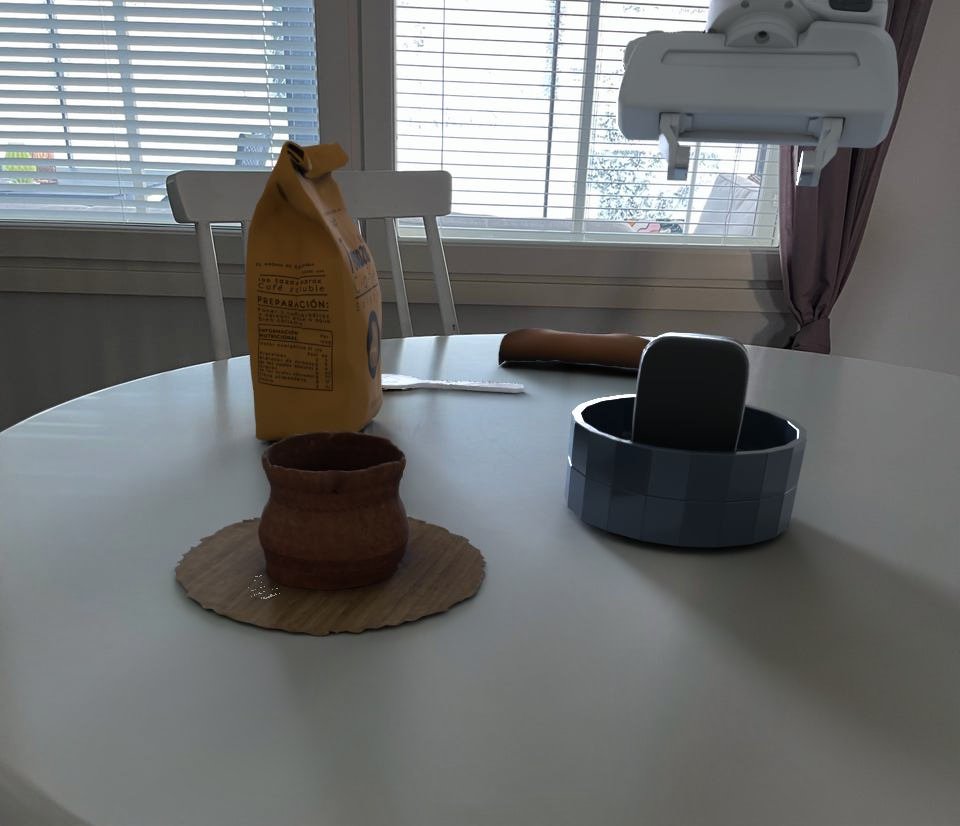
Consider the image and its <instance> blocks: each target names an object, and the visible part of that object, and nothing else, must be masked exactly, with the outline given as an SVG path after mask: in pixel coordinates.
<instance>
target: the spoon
mask: <svg viewBox="0 0 960 826" xmlns="http://www.w3.org/2000/svg"><path fill="white" fill-rule="evenodd" d="M381 378H382V388H392V389H402V388H412V389H416V388H434V389H448V390H465V391H477V392H478V391H480V392H481V391H482V392H496V393H497V392H499V393H512V394H519V393H523V392H524V391H525V385H524V384H521V383H519V382H518V383H516V382H514V383H513V382H505V383H504V382H494V381H488V382H487V381H483V380H481V381H475V380H473V381H471V380H469V381H462V380H459V381H458V380H456V379H455V380H449V379H445V380H443V379H441V380H436V379H425V378H419V377H417V376H414V375H407V374H399V373H381ZM402 390H403V389H402Z"/></svg>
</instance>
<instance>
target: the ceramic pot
mask: <svg viewBox="0 0 960 826" xmlns="http://www.w3.org/2000/svg"><path fill="white" fill-rule="evenodd" d="M260 457H261V460H260V461H261V465H262V469H263V471H264V472H265V476H266V479H267V481H268V484H269V497H268V499H267V501H266V503H265V504H264V506H263V508H262V511H261V515H260V517H253V518H252V519H251V518H248V519H242V520H241V521H239V522H234V523H232V524H229V525H226V526H224V527H223V528H221V529H219V530H217V531H215V532H214V534H211V535H208V536H206V537H202V538H200V539H199V540H198V542H200V543H199V544H198V545H197V546H190V549H189V550H188V551H187V552H185V553H183V554H181V556H182V559H181V560H179V561H177V563H178V565H177V566H175V567H174V570H173V571H174V572H175V578H176V579H177V580H178V581H179V582H180V584H181V585H182V587H183V589H185V591H187V594H186V596H187V597H190V598H192V599H193V600H194V601H196V602H197V603H199V604H200V606H201V607H202V608H203V609H211V610H213V611H214V612H215V613H216V614H218V615H222V616H226V617H228V618H230V619H232V620H235V621H238V622H243V623H247V624H248V623H249V624H252V625H255V626H258V627H262V628H267V629H279V630H280V629H281V630H284V631H286V632H289V633H306V634H309V635H313V636H318V637H319V636H320V637H323V636H326V635H328V634H330V632H333V633H336V634H339V632H341V633H342V632H350V633H356V634H357V633H359V634H360V633H362V632H363V631H364V630H366V629H380V628H382V627H384V626H399V625H401V624H402V623H404V622H406V621H407V622H414V621H416V620H419V619H420V618H422V617H423V616H430V615H432V614H436V613H441V612H448V611H449V608H450V607H451V606H453V605H454V604H455V603H457V602H462V601H464V600H465V599H466V598H470V597H473V596H474V595H475V594H476V593H477V591H478V590H479V589H480V588H479V587H481V586H482V585H483V584H482V582H481V580H482V579H483V578H484V577H485V576H486V571H485V569H484V568H483V566H484V565H486V564H488V562H487V561H485V557H484V555H483V554H482V552H481V549H479V548H477V547H475V546H474V545H472V544H471V543H470V539H469V538H467V537H465V536H463V535H459V534H456V533H452V532H450V531H449V530H448V529H447V528H445V527H443V526H440V525H437V524H434V523H428V522H427V521H426V520H421V519H419V518H414V517H413V516H410V515H409V516H408V514H407V511H406V508H405V505H404V502H403V499H402V497H401V495H400V486H401V485H400V484H401V481H402V478H403V477H404V471H405V469H406V467H407V458H406V455H405V453H404V452H403V450H401V449H400V448H399V447H398V446H397V445H395V444H394V443H393V441H392V440H391V439H389V438H387V437H384V436H381V435H377V434H371V433H370V434H369V433H366V432H351V431H331V432H329V431H310V432H307V433H305V434H291V435H288V436H286V437H284V438H283V439H282V440H281V441H276V442H273V443H272V444H271V445H269V446H267V447H266V448H265V450H264V451H263V452H262V453H261V455H260ZM260 575H262V576H260ZM255 576H258V577H255ZM259 576H260V577H259ZM254 580H256V581H254ZM261 582H262V583H261ZM264 586H265V587H264ZM248 587H249V588H248ZM260 587H262V588H260ZM276 588H278V589H276ZM255 589H256V590H255ZM272 589H273V590H272ZM251 590H254V591H251ZM263 591H265V592H263ZM259 592H260V593H262V594H258V593H259ZM275 593H276V594H277V595H275ZM279 593H280V594H279ZM254 594H255V596H254ZM256 594H257V595H256ZM270 594H272V595H275V596H272V597H270V598H267V599H263V597H265V598H266V597H268V596H270ZM251 596H252V597H251ZM261 597H262V599H261Z"/></svg>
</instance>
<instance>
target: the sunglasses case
mask: <svg viewBox="0 0 960 826" xmlns="http://www.w3.org/2000/svg"><path fill="white" fill-rule="evenodd" d="M650 341H651V340H650V339H647V338H644V337H642V336H638V335H634V334H628V333H609V334H603V333H602V334H598V333H578V332H567V331H557V330H554V329H549V328H539V327H536V328H535V327H533V328H530V327H529V328H520V329H515V330H511V331H509V332H507V333H505V334H504V335H503V337H502V338H501V340H500V344H499V348H498V354H497V357H498V358H497V361H498V366H501V365H502V364H504V363H506V362H507V363H508V362H509V363H510V362H517V363H518V362H519V363H520V362H530V363H534V362H538V361H539V362H542V363H545V362H560V363H568V364H576V365H596V366H600V367H605V368H606V367H608V368H622V369H632V370H639V365H640V360H641V356H642V353H643V351H644V349H645V348H646V346H647V345H648V344H649V343H650Z"/></svg>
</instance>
